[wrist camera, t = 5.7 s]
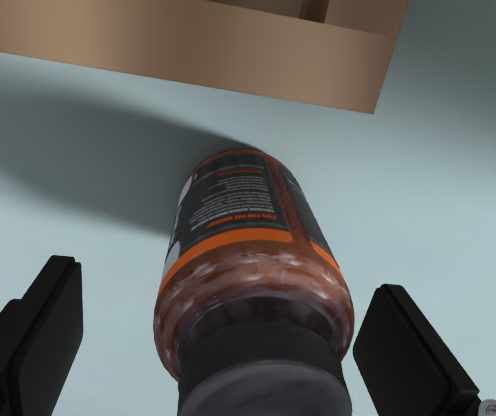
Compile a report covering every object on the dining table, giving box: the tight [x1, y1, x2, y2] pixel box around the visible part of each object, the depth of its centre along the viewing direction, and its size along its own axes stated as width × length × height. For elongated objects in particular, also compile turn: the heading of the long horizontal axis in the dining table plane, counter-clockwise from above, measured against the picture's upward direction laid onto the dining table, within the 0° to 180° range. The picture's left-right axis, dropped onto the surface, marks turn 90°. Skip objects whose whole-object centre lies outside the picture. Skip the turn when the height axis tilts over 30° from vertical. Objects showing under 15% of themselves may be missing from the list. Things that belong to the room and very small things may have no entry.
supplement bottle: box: [153, 149, 354, 416], centre depth 13 cm, size 6×6×11 cm
